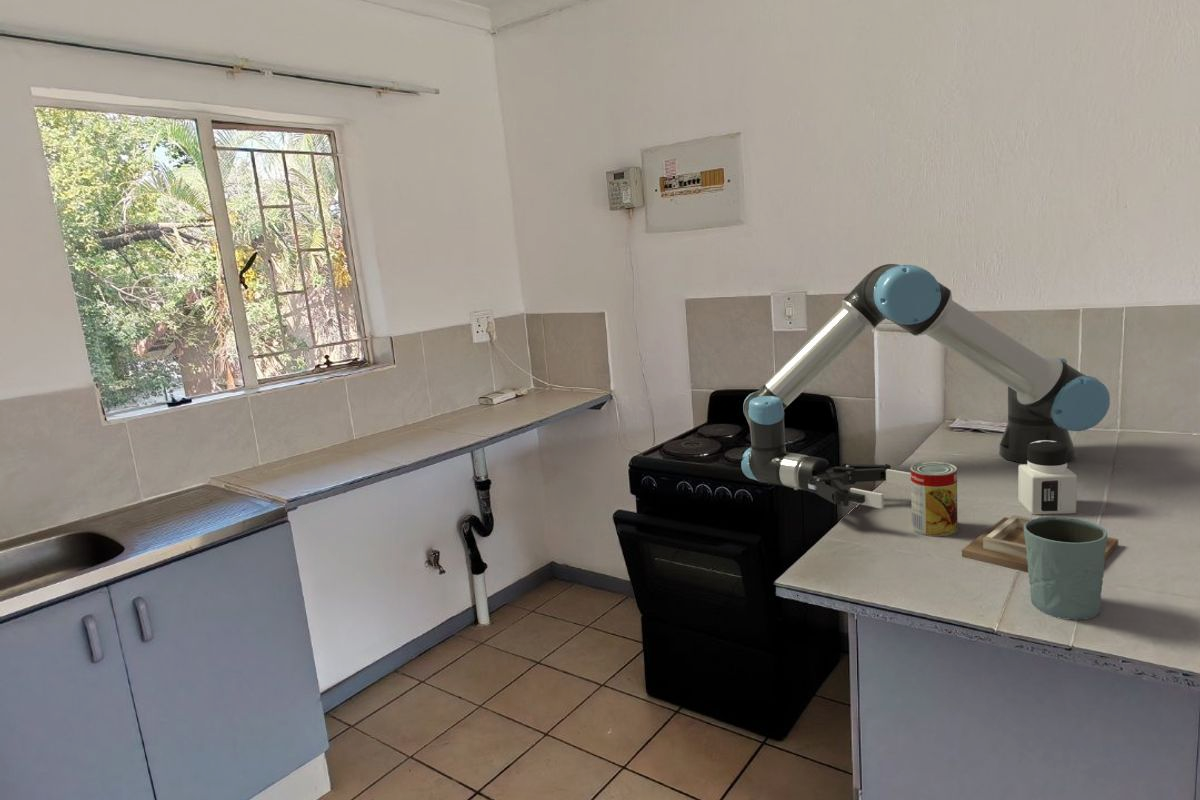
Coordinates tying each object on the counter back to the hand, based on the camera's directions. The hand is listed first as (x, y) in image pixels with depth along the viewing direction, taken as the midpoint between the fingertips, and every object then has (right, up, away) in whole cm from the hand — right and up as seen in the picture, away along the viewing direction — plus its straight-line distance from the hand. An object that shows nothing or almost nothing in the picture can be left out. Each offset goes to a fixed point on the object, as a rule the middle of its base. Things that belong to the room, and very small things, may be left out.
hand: (900, 490), depth 142 cm
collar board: (+17, -8, -17) cm, 25 cm away
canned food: (+5, -7, -3) cm, 9 cm away
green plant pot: (+10, -13, -34) cm, 38 cm away
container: (+29, -4, +1) cm, 29 cm away
